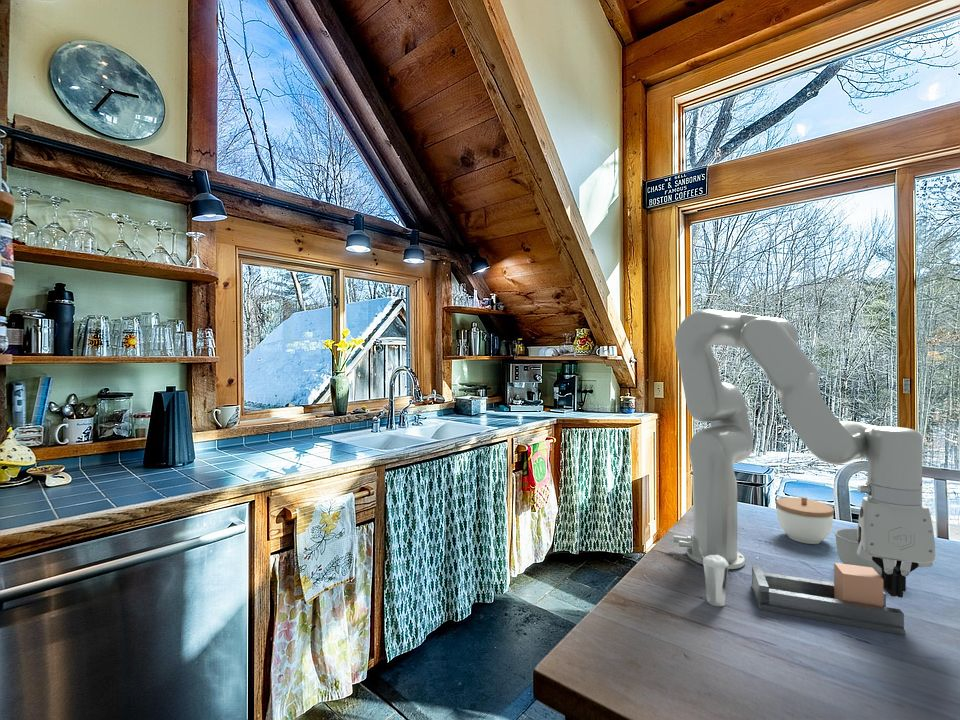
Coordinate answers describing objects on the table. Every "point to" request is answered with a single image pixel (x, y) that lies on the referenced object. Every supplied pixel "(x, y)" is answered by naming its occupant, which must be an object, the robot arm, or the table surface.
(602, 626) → the table surface
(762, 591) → the chute
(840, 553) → the teacup
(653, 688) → the table surface
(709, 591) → the milkshake
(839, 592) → the block
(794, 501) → the lidded bowl
